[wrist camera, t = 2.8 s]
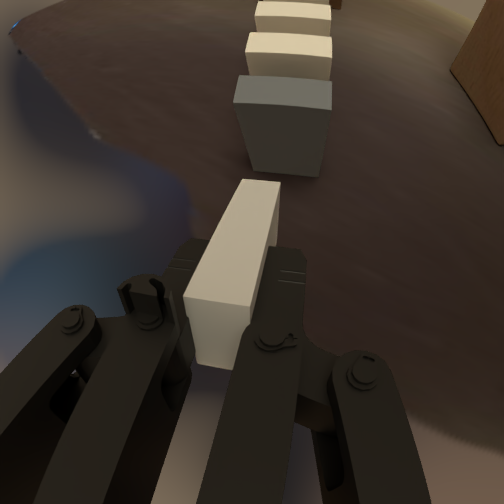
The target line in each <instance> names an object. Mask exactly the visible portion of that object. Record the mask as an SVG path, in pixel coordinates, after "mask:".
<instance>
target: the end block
mask: <svg viewBox="0 0 504 504" xmlns="http://www.w3.org/2000/svg"><path fill="white" fill-rule="evenodd" d="M341 2H342V0H329V5H330V7H331V8H335V9H341Z"/></svg>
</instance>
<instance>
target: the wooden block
mask: <svg viewBox="0 0 504 504" xmlns="http://www.w3.org/2000/svg"><path fill="white" fill-rule="evenodd" d="M451 72H452V73H453V75H454V76H455V77H456V79H457V80H458V81H459V83H460V84H461V85H462V87H463V88H464V90H465V91H466V93H467V94H468V95H469V97H470V98H471V100H472V101H473V103H474V104H475V106H476V108H477V109H478V111H479V112H480V114H481V116H482V117H483V119H484V120H485V122H486V124H487V125H488V127H489V129H490V131H491V132H492V134H493V136H494V138H495V140H496V141H497V143H498V144H499V145H504V0H486V3H485V4H484V6H483V9H482V11H481V12H480V14H479V17H478V18H477V20H476V22H475V24H474V26H473V28H472V30H471V32H470V34H469V35H468V37H467V39H466V41H465V43H464V45H463V46H462V48H461V50H460V52H459V54H458V55H457V57H456V59H455V61H454V62H453V64H452V66H451Z"/></svg>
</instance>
